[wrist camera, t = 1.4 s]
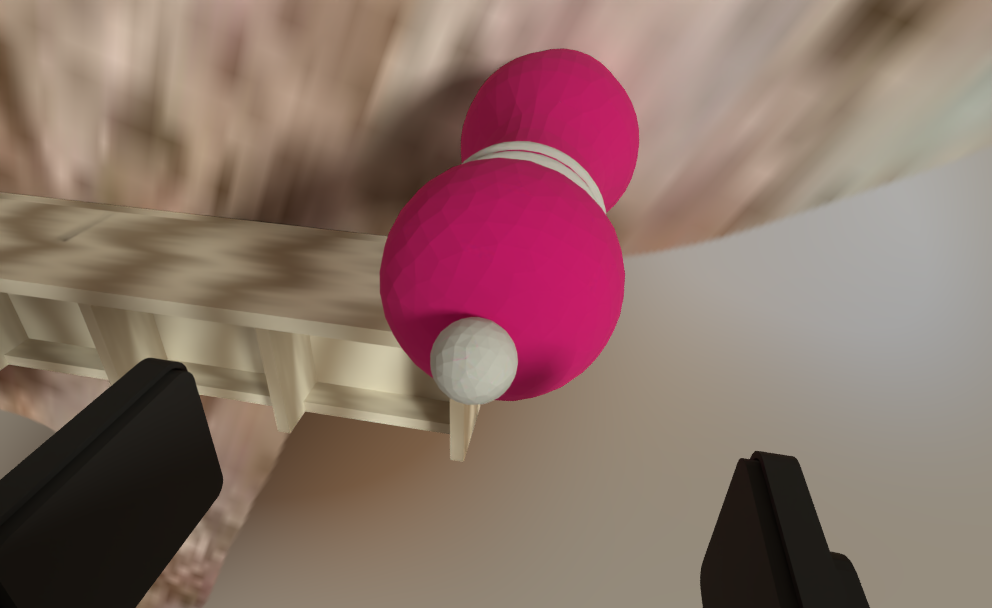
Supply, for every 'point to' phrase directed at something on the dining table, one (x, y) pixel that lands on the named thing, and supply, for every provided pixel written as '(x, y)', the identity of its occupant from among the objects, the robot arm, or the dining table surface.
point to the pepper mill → (517, 235)
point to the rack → (213, 310)
